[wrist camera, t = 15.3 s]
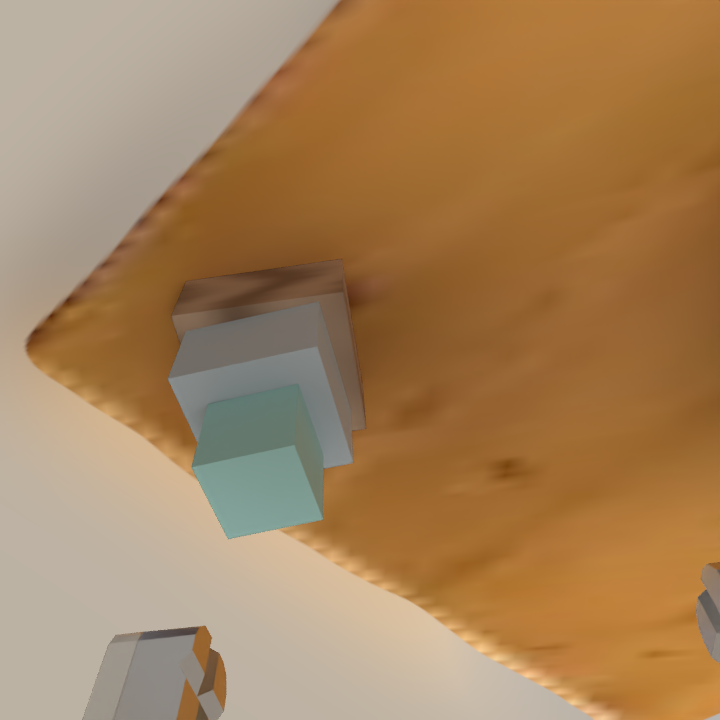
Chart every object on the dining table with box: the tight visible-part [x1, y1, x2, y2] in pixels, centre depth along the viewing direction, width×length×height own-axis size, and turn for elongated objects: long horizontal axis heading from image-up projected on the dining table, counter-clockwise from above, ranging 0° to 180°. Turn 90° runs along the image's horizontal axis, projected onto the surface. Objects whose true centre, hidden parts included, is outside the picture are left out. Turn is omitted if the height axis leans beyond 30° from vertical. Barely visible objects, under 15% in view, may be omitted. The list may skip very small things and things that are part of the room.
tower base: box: [171, 259, 366, 431], centre depth 42 cm, size 10×10×5 cm
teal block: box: [192, 384, 324, 539], centre depth 34 cm, size 5×5×5 cm
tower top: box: [168, 302, 353, 469], centre depth 38 cm, size 8×8×5 cm
